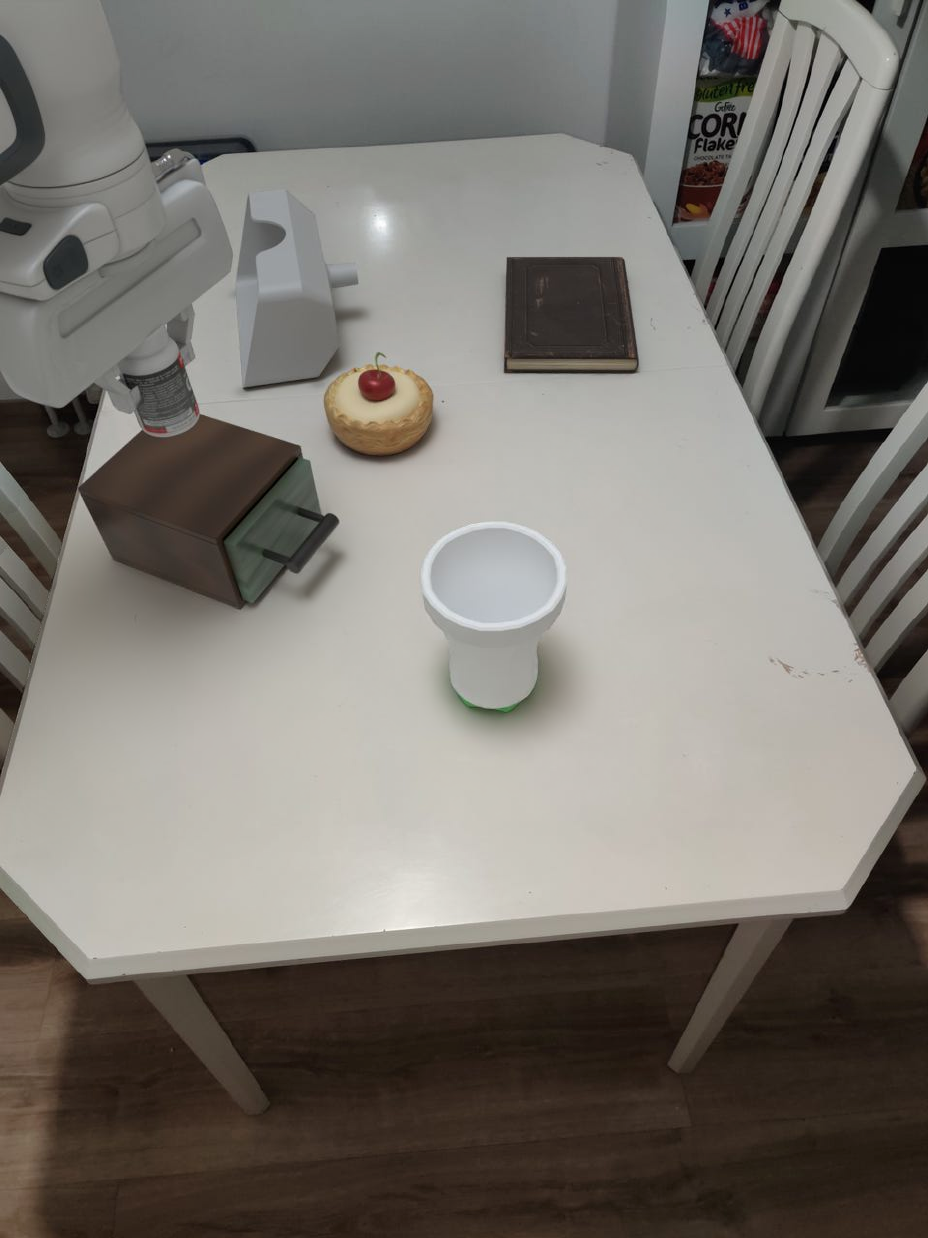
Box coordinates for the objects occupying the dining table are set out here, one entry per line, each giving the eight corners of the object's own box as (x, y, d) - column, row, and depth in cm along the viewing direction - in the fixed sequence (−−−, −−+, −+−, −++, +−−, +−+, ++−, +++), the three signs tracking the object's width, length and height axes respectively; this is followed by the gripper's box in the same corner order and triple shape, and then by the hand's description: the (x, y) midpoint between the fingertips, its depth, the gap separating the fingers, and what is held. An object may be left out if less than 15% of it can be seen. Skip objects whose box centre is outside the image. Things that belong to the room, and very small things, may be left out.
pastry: (322, 464, 95) (308, 397, 88) (337, 397, 103) (325, 331, 96) (431, 465, 95) (426, 397, 88) (438, 398, 102) (434, 331, 95)
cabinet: (316, 517, 90) (300, 445, 82) (240, 609, 82) (215, 538, 75) (195, 476, 95) (169, 403, 87) (112, 559, 87) (76, 487, 80)
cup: (529, 617, 81) (535, 505, 70) (577, 712, 74) (592, 605, 63) (414, 649, 79) (401, 540, 68) (452, 750, 72) (445, 647, 61)
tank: (375, 373, 105) (363, 277, 96) (243, 393, 104) (217, 296, 94) (350, 269, 121) (338, 177, 111) (235, 284, 119) (212, 192, 109)
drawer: (358, 531, 87) (348, 472, 81) (291, 618, 80) (274, 561, 74) (207, 479, 93) (187, 420, 87) (132, 556, 86) (104, 498, 80)
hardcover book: (503, 372, 105) (504, 356, 103) (506, 272, 119) (506, 256, 117) (637, 373, 104) (639, 356, 102) (623, 272, 118) (625, 256, 117)
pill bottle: (212, 418, 69) (182, 323, 62) (162, 447, 66) (125, 352, 60) (178, 393, 71) (145, 299, 64) (128, 421, 69) (89, 327, 62)
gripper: (156, 130, 62) (207, 306, 73) (-70, 268, 51) (30, 452, 61) (227, 144, 60) (269, 323, 71) (8, 291, 49) (97, 477, 60)
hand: (156, 384), depth 66 cm, fingers closed on pill bottle, 5 cm apart
